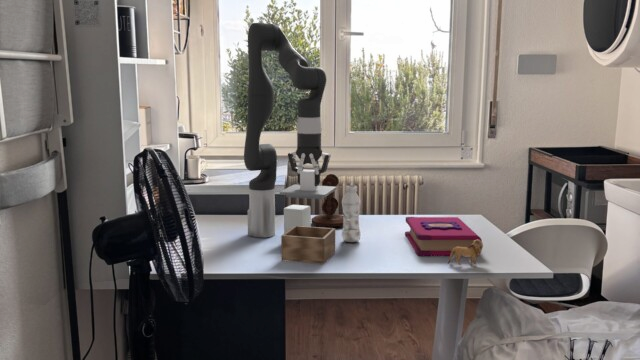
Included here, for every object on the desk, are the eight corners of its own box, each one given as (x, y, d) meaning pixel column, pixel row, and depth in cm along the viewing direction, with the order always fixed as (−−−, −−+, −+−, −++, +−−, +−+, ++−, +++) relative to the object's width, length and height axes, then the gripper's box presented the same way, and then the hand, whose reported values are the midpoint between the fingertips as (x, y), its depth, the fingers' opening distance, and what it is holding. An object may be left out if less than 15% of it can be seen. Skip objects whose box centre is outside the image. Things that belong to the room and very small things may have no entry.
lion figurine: (477, 259, 194) (478, 237, 193) (485, 263, 190) (486, 240, 189) (444, 263, 191) (445, 240, 189) (451, 267, 186) (451, 243, 185)
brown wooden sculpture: (314, 220, 248) (314, 172, 244) (350, 222, 246) (351, 173, 242) (308, 229, 233) (308, 177, 230) (347, 230, 231) (347, 178, 228)
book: (460, 235, 227) (461, 215, 225) (481, 256, 199) (482, 234, 198) (404, 235, 226) (404, 215, 225) (417, 256, 199) (418, 234, 197)
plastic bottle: (359, 244, 211) (360, 187, 208) (339, 243, 213) (340, 187, 209) (361, 240, 217) (362, 184, 214) (343, 239, 219) (343, 184, 216)
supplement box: (311, 240, 217) (311, 205, 215) (302, 245, 210) (302, 209, 208) (293, 238, 220) (292, 203, 218) (283, 243, 213) (283, 207, 211)
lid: (279, 197, 189) (279, 172, 188) (294, 189, 203) (294, 166, 202) (325, 200, 185) (325, 175, 184) (336, 192, 199) (336, 168, 198)
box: (281, 260, 193) (281, 235, 191) (295, 248, 206) (294, 225, 205) (324, 263, 189) (324, 238, 188) (335, 251, 202) (335, 228, 201)
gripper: (283, 131, 189) (283, 186, 192) (328, 133, 185) (327, 188, 188) (291, 130, 196) (291, 182, 199) (334, 131, 193) (333, 184, 195)
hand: (309, 185), depth 194 cm, fingers closed on lid, 4 cm apart
